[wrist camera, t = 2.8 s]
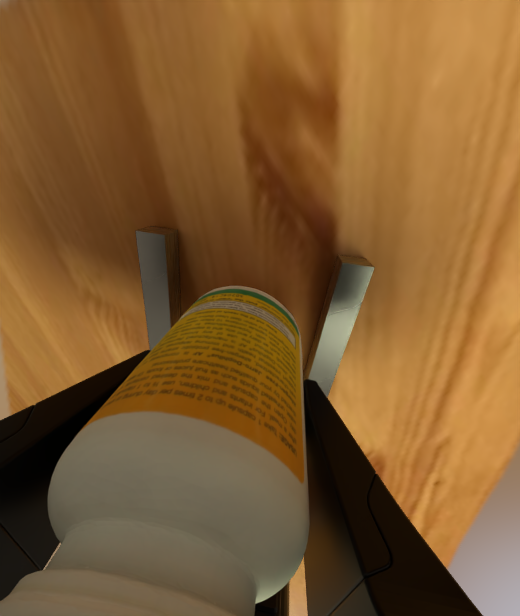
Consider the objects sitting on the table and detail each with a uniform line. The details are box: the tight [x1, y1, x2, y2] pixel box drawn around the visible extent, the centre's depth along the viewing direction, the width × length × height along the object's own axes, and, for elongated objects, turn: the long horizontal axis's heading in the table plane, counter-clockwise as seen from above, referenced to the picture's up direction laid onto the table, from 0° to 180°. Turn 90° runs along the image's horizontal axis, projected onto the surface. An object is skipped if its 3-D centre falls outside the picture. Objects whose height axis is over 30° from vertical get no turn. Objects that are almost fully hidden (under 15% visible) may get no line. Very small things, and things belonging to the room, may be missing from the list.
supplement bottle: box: [0, 286, 310, 616], centre depth 7 cm, size 5×5×10 cm
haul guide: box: [136, 226, 375, 397], centre depth 13 cm, size 19×11×3 cm, turn 173°
